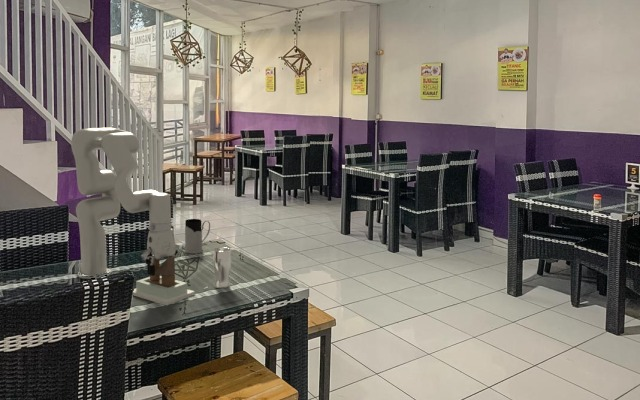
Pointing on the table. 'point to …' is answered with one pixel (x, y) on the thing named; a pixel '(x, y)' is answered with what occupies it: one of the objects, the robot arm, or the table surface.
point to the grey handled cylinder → (194, 235)
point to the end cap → (162, 291)
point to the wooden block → (164, 273)
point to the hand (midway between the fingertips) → (161, 271)
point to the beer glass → (222, 266)
